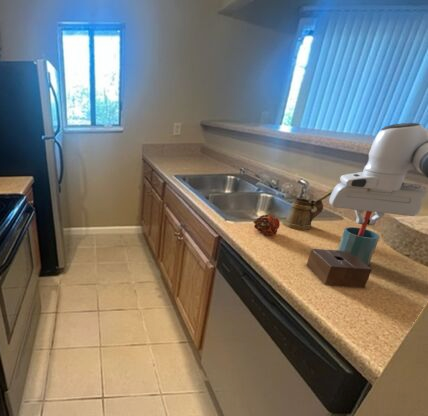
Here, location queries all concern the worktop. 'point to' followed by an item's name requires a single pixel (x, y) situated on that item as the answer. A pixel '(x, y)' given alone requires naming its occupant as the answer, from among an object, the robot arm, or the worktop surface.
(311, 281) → the worktop surface
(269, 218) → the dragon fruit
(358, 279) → the block
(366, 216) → the straw
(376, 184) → the robot arm
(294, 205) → the wooden mug
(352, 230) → the cup
